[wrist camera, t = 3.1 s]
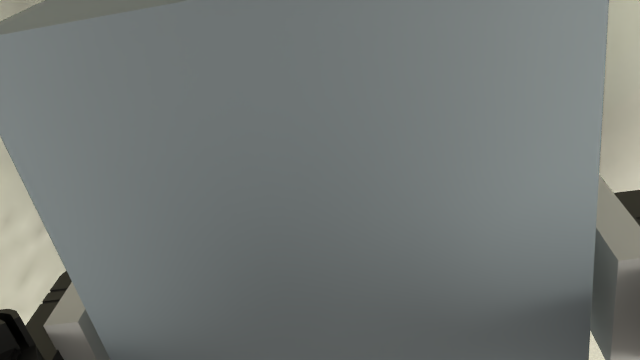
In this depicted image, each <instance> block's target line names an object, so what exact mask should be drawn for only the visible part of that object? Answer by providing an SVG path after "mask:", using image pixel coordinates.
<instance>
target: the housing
mask: <svg viewBox="0 0 640 360" xmlns="http://www.w3.org/2000/svg"><path fill="white" fill-rule="evenodd" d="M608 7H609V0H45V1H43V2H41V3H39V4H36V5H34V6H32V7H30V8H28V9H26V10H24V11H22V12H20V13H18V14H15V15H13V16H11V17H9V18H7V19H5V20H3V21H1V22H0V136H1V138H2V141H3V143H4V145H5V147H6V149H7V151H8V153H9V155H10V157H11V159H12V161H13V163H14V165H15V167H16V169H17V171H18V173H19V175H20V177H21V179H22V181H23V183H24V185H25V187H26V189H27V191H28V193H29V195H30V197H31V199H32V201H33V203H34V205H35V208H36V210H37V212H38V214H39V216H40V218H41V220H42V222H43V224H44V226H45V228H46V230H47V232H48V234H49V236H50V238H51V240H52V242H53V244H54V246H55V248H56V250H57V252H58V254H59V256H60V258H61V260H62V262H63V264H64V266H65V268H66V270H67V272H68V274H69V277H70V279H71V281H72V283H73V285H74V287H75V289H76V291H77V293H78V295H79V297H80V299H81V301H82V303H83V305H84V307H85V309H86V311H87V313H88V315H89V317H90V319H91V321H92V323H93V325H94V327H95V329H96V331H97V333H98V335H99V337H100V339H101V341H102V344H103V346H104V348H105V350H106V352H107V354H108V356H109V358H110V360H589V342H590V324H591V307H592V289H593V271H594V254H595V236H596V218H597V201H598V183H599V166H600V148H601V130H602V113H603V95H604V77H605V60H606V42H607V24H608Z"/></svg>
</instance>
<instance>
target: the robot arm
mask: <svg viewBox="0 0 640 360" xmlns="http://www.w3.org/2000/svg"><path fill="white" fill-rule="evenodd" d="M50 291H51V292H50V293H48V294H47V296H46V297H45V299H44V300H43V304H40V306H39V307H38V309H37V310H36V312H35V313H34V315H33V316H32V317H31V319H30V320H29V322H28V323H27V325H26V326H25V325H24V323H23V321H22V319H21V318H20V316H19V314H18V313H17V311H15V310H11V309H3V310H0V360H110V358H109V356H108V354H107V352H106V350H105V348H104V346H103V344H102V341H101V339H100V337H99V335H98V333H97V331H96V329H95V327H94V325H93V323H92V321H91V319H90V317H89V315H88V313H87V311H86V309H85V307H84V305H83V303H82V301H81V299H80V297H79V295H78V293H77V291H76V289H75V287H74V285H73V283H72V281H71V279H70V277H69V274H68V272H67V271H66V272H64V273H63V274H62V275H61V276H60V277H59V278H58V280H57V281H56V283H55V284H54V285H53V287H52V288H51V290H50ZM590 330H591V332H592V334H593V336H594V338H595V340H596V342H597V344H598V346H599V348H600V350H601V352H602V354H603V356H604V358H605V360H640V190H635V191H627V192H619V193H613V192H612V190H611V189H610V188H609V187H608V185H607V184H606V183H605V181H604V180H603V179H602V178H601V176H600V175H599V183H598V201H597V218H596V236H595V254H594V271H593V289H592V307H591V324H590Z"/></svg>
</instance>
